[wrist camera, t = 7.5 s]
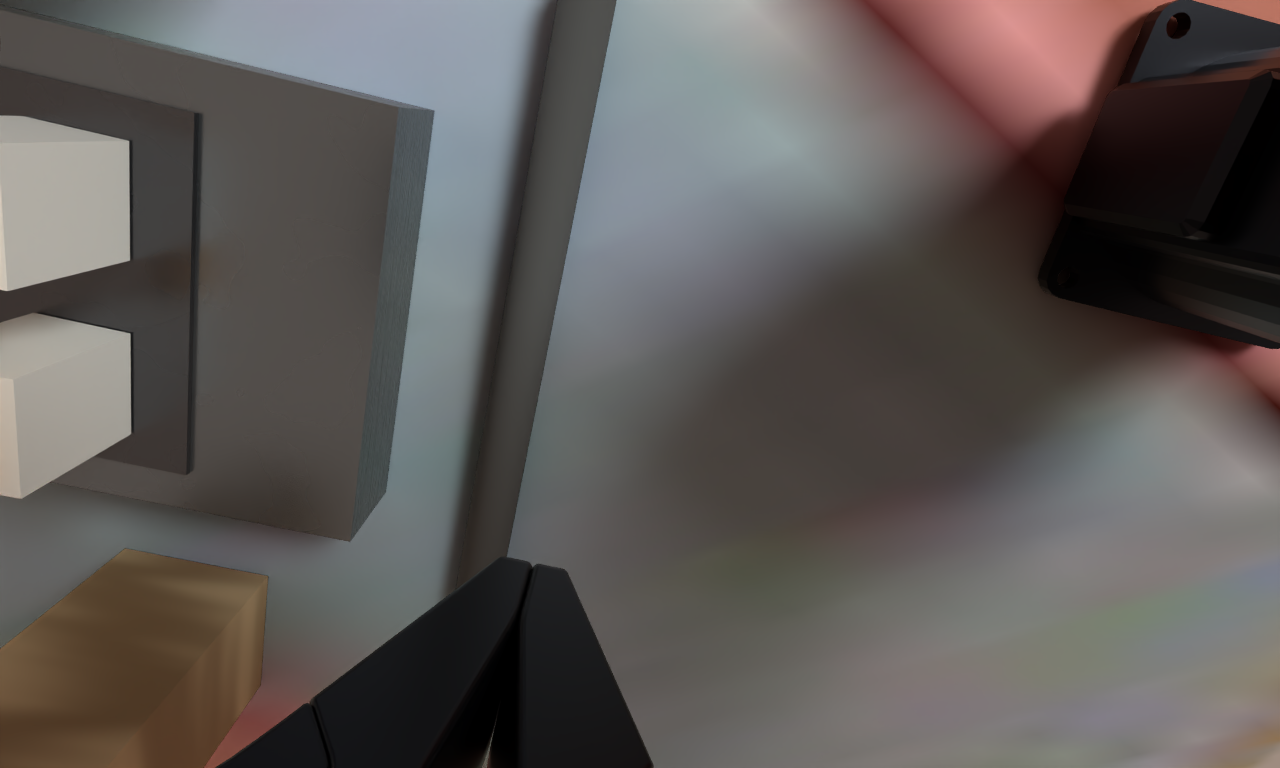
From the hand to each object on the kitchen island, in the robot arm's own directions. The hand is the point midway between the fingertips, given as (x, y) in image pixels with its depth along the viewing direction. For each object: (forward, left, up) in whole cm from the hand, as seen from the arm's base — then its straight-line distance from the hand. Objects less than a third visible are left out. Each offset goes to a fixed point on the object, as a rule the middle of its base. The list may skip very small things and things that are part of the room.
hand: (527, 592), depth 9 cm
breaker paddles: (+11, 0, -7) cm, 13 cm away
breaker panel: (+11, 0, -10) cm, 14 cm away
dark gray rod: (+2, 0, -10) cm, 10 cm away
